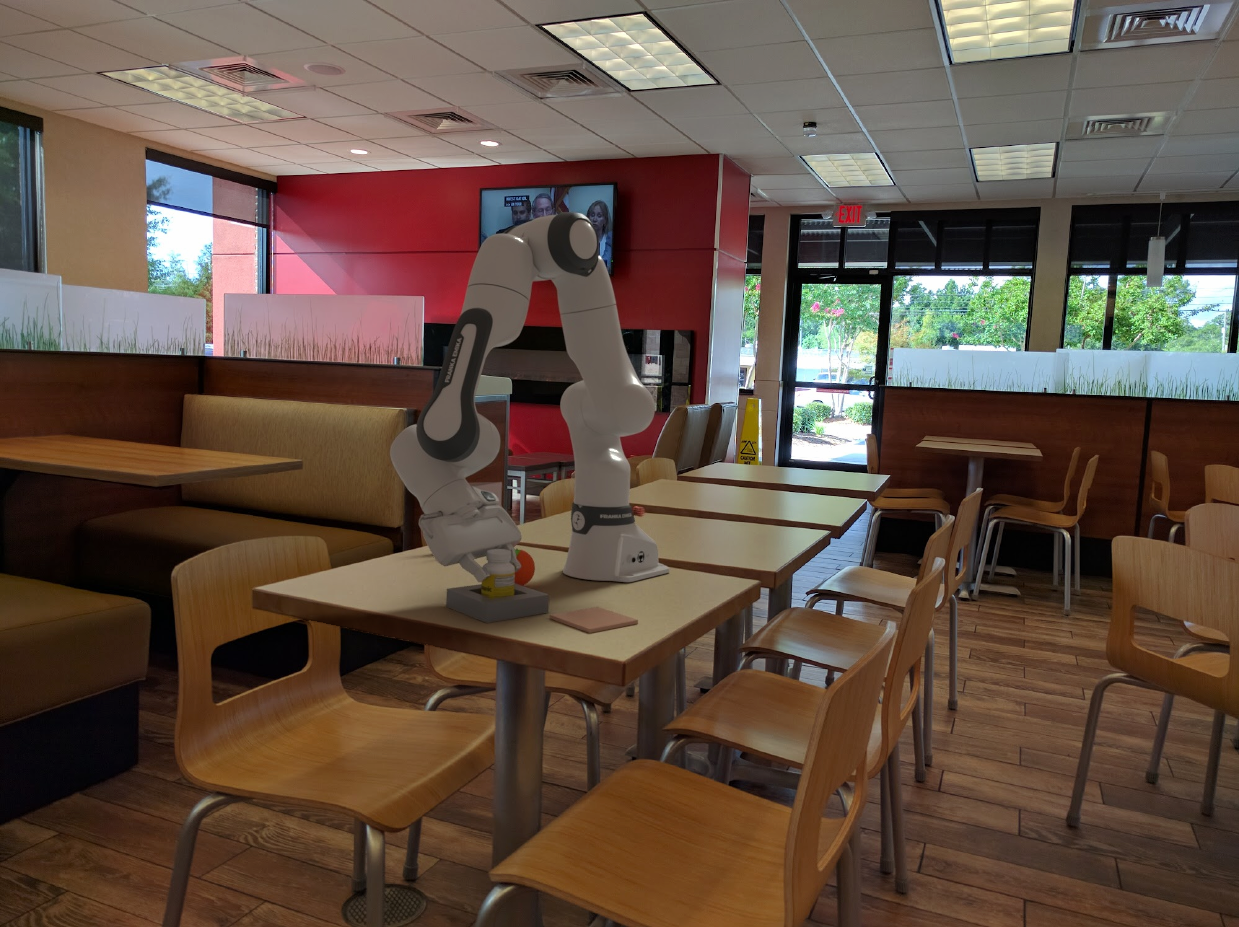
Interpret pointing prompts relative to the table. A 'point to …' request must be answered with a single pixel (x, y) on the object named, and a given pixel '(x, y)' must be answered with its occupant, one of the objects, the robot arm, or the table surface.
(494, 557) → the supplement bottle
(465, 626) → the table surface
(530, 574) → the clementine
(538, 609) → the pocket holder
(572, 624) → the coaster
